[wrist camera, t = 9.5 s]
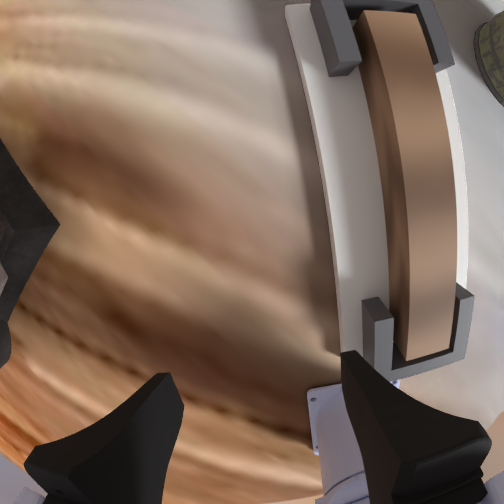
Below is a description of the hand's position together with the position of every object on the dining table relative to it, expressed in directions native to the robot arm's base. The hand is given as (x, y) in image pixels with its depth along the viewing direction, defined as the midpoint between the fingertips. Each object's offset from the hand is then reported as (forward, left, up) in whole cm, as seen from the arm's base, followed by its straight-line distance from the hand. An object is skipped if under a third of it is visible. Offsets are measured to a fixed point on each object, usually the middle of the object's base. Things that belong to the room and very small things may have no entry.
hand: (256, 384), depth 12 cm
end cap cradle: (+6, -10, -9) cm, 15 cm away
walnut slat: (+6, -10, -8) cm, 14 cm away
